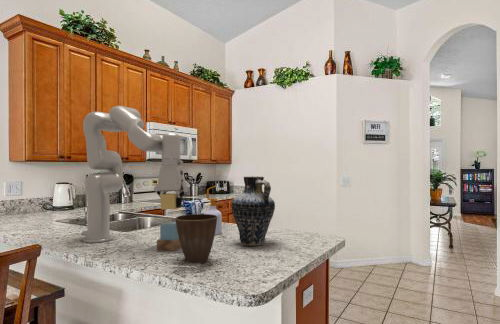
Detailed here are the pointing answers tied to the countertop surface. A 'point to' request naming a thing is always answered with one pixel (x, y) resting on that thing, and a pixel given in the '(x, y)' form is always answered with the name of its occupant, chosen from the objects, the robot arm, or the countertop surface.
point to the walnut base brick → (168, 245)
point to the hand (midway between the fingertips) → (171, 206)
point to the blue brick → (168, 231)
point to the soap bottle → (215, 213)
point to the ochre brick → (168, 201)
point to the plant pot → (196, 236)
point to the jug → (253, 211)
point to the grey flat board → (162, 251)
